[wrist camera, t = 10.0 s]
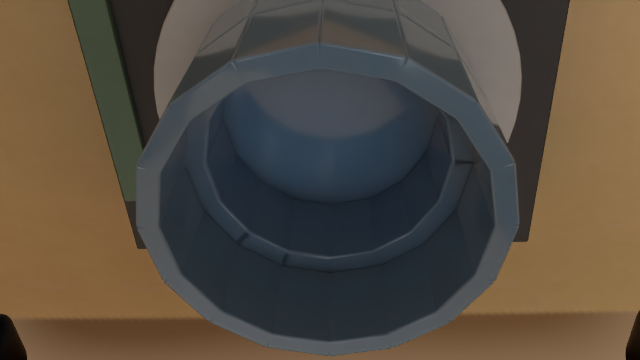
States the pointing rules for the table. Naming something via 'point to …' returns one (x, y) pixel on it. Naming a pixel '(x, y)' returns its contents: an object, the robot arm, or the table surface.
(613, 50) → the table surface
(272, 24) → the bowl
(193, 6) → the scale
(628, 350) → the robot arm
